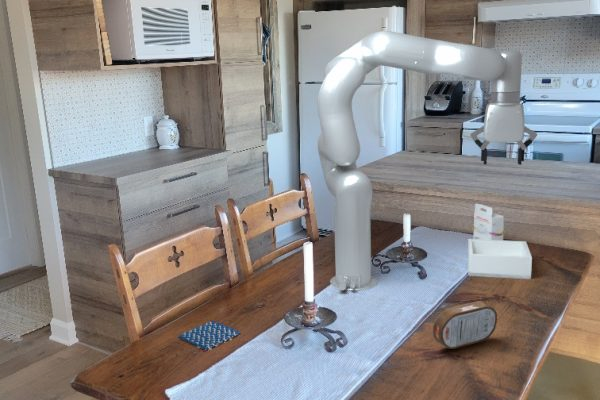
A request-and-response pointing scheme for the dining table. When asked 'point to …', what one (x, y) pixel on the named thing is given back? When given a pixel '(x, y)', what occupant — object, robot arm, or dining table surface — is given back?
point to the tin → (465, 324)
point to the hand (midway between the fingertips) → (502, 163)
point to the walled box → (499, 259)
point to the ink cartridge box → (487, 224)
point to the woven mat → (209, 335)
